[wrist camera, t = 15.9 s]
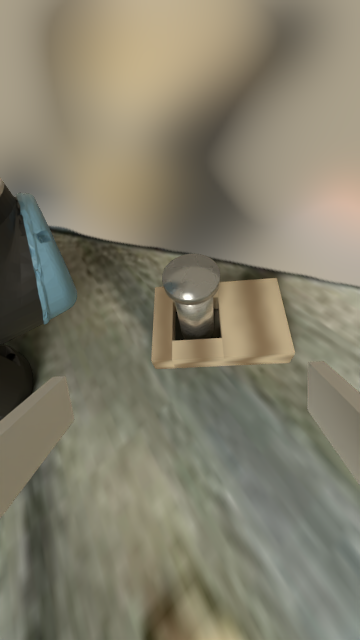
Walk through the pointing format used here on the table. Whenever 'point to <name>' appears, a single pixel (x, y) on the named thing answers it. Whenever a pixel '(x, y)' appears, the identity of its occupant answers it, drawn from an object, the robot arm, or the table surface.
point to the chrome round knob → (193, 293)
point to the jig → (227, 329)
